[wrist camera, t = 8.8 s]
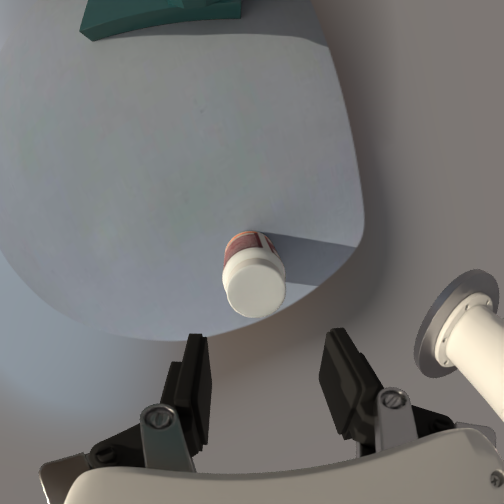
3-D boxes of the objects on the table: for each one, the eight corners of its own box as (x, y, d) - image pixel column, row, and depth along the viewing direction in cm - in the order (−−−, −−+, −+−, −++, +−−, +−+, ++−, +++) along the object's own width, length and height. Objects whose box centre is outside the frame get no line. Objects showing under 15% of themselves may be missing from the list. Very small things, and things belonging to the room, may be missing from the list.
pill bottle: (218, 268, 26) (211, 311, 18) (235, 222, 25) (235, 248, 17) (263, 284, 27) (274, 330, 19) (282, 240, 26) (303, 272, 18)
